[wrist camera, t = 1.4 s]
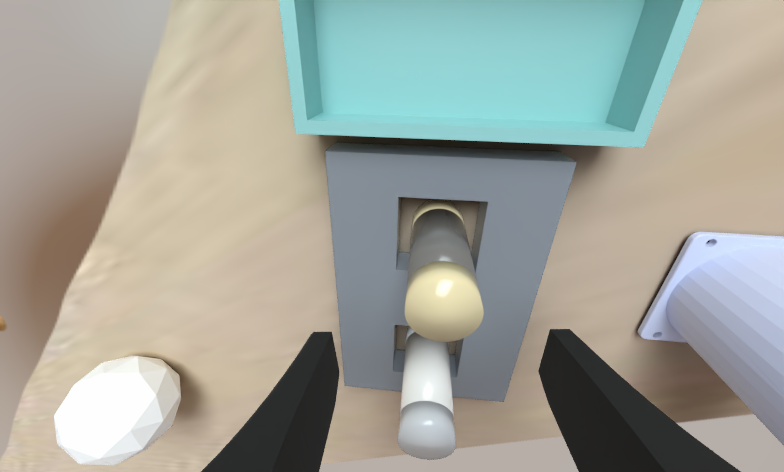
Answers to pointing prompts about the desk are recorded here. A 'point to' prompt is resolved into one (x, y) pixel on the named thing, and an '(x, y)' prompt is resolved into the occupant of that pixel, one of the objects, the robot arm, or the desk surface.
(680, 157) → the desk surface
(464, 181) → the fuse block
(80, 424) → the geometric ball
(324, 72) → the tray
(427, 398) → the fuse
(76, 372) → the desk surface
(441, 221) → the led light bulb
